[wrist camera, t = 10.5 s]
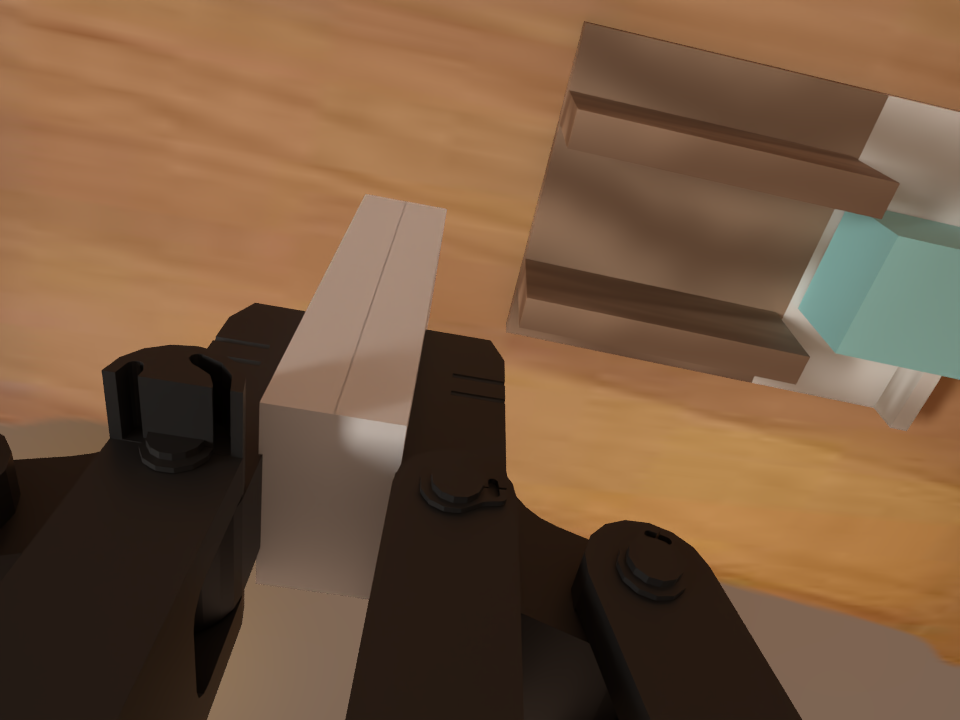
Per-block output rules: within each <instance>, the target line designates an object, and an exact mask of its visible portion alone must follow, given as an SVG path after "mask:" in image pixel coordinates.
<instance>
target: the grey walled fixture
mask: <svg viewBox="0 0 960 720" xmlns="http://www.w3.org/2000/svg"><path fill="white" fill-rule="evenodd" d="M886 210H887V211H892V212H896V213H901V214H905V215H909V216H914V217H918V218H923V219H927V220H931V221H936V222H940V223H945V224H949V225H953V226H958V227H960V111H956V110H952V109H948V108H944V107H939V106H935V105H931V104H927V103H923V102H919V101H914V100H910V99H906V98H902V97H898V96H893V95H889V94H885V93H881V92H877V91H873V90H868V89H864V88H860V87H856V86H852V85H848V84H843V83H839V82H835V81H831V80H827V79H823V78H818V77H814V76H810V75H806V74H802V73H798V72H793V71H789V70H785V69H781V68H777V67H772V66H768V65H764V64H760V63H756V62H752V61H747V60H743V59H739V58H735V57H731V56H727V55H722V54H718V53H714V52H710V51H706V50H702V49H697V48H693V47H689V46H685V45H681V44H677V43H672V42H668V41H664V40H660V39H656V38H651V37H647V36H643V35H639V34H635V33H631V32H626V31H622V30H618V29H614V28H610V27H606V26H601V25H597V24H593V23H589V22H585V21H584V24H583V28H582V32H581V36H580V40H579V43H578V47H577V51H576V55H575V59H574V63H573V67H572V71H571V74H570V78H569V82H568V86H567V90H566V94H565V98H564V102H563V106H562V109H561V113H560V117H559V121H558V125H557V129H556V133H555V137H554V140H553V144H552V148H551V152H550V156H549V160H548V164H547V168H546V172H545V175H544V179H543V183H542V187H541V191H540V195H539V199H538V203H537V206H536V210H535V214H534V218H533V222H532V226H531V230H530V234H529V238H528V241H527V245H526V249H525V253H524V257H523V261H522V265H521V269H520V272H519V276H518V280H517V284H516V288H515V292H514V296H513V300H512V303H511V307H510V311H509V315H508V319H507V323H506V332H508V333H513V334H518V335H523V336H527V337H532V338H537V339H542V340H547V341H552V342H557V343H561V344H566V345H571V346H576V347H581V348H586V349H591V350H595V351H600V352H605V353H610V354H615V355H620V356H625V357H629V358H634V359H639V360H644V361H649V362H654V363H659V364H663V365H668V366H673V367H678V368H683V369H688V370H693V371H697V372H702V373H707V374H712V375H717V376H722V377H726V378H731V379H736V380H741V381H746V382H751V383H756V384H760V385H765V386H770V387H775V388H780V389H785V390H790V391H794V392H799V393H804V394H809V395H814V396H819V397H824V398H828V399H833V400H838V401H843V402H848V403H853V404H858V405H862V406H867V407H872V408H874V409H875V410H876V411H877V412H878V414H879V415H880V416H881V417H882V418H883V420H884V421H885V422H886V423H887V424H888V426H889V427H890V428H894V429H899V430H904V431H907V430H908V429H909V427H910V425H911V424H912V422H913V421H914V419H915V418H916V416H917V414H918V413H919V411H920V410H921V408H922V407H923V405H924V403H925V402H926V400H927V399H928V397H929V396H930V394H931V392H932V391H933V389H934V388H935V386H936V385H937V383H938V381H939V380H940V378H941V377H942V376H940V375H935V374H931V373H926V372H921V371H916V370H912V369H907V368H902V367H898V366H893V365H888V364H883V363H879V362H874V361H869V360H864V359H860V358H855V357H850V356H845V355H841V354H836V353H835V352H834V351H833V350H832V349H831V347H830V346H829V345H828V344H827V343H826V342H825V340H824V339H823V338H822V337H821V336H820V334H819V333H818V332H817V331H816V330H815V328H814V327H813V326H812V325H811V324H810V322H809V321H808V320H807V319H806V318H805V316H804V315H803V314H802V313H801V312H800V310H799V309H798V307H799V305H800V303H801V301H802V299H803V297H804V295H805V293H806V291H807V289H808V287H809V285H810V282H811V280H812V278H813V276H814V274H815V272H816V270H817V268H818V266H819V264H820V262H821V260H822V258H823V256H824V254H825V252H826V250H827V248H828V246H829V244H830V241H831V239H832V237H833V235H834V233H835V231H836V229H837V227H838V225H839V223H840V221H841V219H842V217H843V215H844V213H845V211H846V212H851V213H855V214H860V215H864V216H869V217H873V218H877V219H882V218H883V216H884V214H885V212H886Z"/></svg>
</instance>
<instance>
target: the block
mask: <svg viewBox="0 0 960 720" xmlns="http://www.w3.org/2000/svg"><path fill="white" fill-rule="evenodd" d="M798 309H799V310H800V312H801V313H802V314H803V315H804V316H805V318H806V319H807V320H808V321H809V322H810V324H811V325H812V326H813V327H814V328H815V330H816V331H817V332H818V333H819V334H820V336H821V337H822V338H823V339H824V340H825V342H826V343H827V344H828V345H829V346H830V347H831V349H832V350H833V351H834V352H835V353H836V354H841V355H845V356H850V357H855V358H860V359H864V360H869V361H874V362H879V363H883V364H888V365H893V366H898V367H902V368H907V369H912V370H916V371H921V372H926V373H931V374H935V375H940V376H945V377H950V378H954V379H959V380H960V227H958V226H953V225H949V224H945V223H940V222H936V221H931V220H927V219H923V218H918V217H914V216H909V215H905V214H901V213H896V212H892V211H887V210H886V212H885V214H884V216H883V218H882V219H877V218H873V217H869V216H864V215H860V214H855V213H851V212H846V211H845V213H844V215H843V217H842V219H841V221H840V223H839V225H838V227H837V229H836V231H835V233H834V235H833V237H832V239H831V241H830V244H829V246H828V248H827V250H826V252H825V254H824V256H823V258H822V260H821V262H820V264H819V266H818V268H817V270H816V272H815V274H814V276H813V278H812V280H811V282H810V285H809V287H808V289H807V291H806V293H805V295H804V297H803V299H802V301H801V303H800V305H799V307H798Z"/></svg>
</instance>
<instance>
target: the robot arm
mask: <svg viewBox="0 0 960 720" xmlns="http://www.w3.org/2000/svg"><path fill="white" fill-rule="evenodd" d="M446 212H447V209H444V208H438V207H433V206H428V205H422V204H417V203H411V202H406V201H401V200H395V199H390V198H384V197H379V196H374V195H368V194H365V196H364V198H363V200H362V202H361V204H360V206H359V208H358V210H357V212H356V214H355V216H354V218H353V220H352V222H351V223H350V225H349V227H348V229H347V231H346V233H345V235H344V237H343V239H342V241H341V243H340V245H339V247H338V249H337V251H336V253H335V255H334V257H333V259H332V261H331V263H330V265H329V267H328V269H327V271H326V273H325V275H324V277H323V279H322V281H321V283H320V285H319V287H318V288H317V290H316V292H315V294H314V296H313V298H312V300H311V302H310V304H309V306H308V308H307V310H306V311H300V310H294V309H288V308H282V307H277V306H271V305H265V304H259V303H254V304H252V305H250V306H249V307H247V308H245V309H243V310H241V311H240V312H238V313H236V314H234V315H232V316H230V317H229V318H228V320H227V321H226V323H225V324H224V326H223V327H222V328H221V330H220V331H219V333H218V334H217V336H216V339H215V341H214V340H213V341H212V343H211V344H210V346H209V347H208V348H207V349H206V348H202V347H199V346H183V345H166V346H159V347H151V348H144V349H141V350H138V351H136V352H133V353H130V354H127V355H124V356H122V357H119V358H118V359H116V360H115V361H114V362H112V363H111V364H110V365H108V366H107V367H106V368H104V369H103V370H102V377H103V385H104V393H105V401H106V409H107V418H108V426H109V433H110V439H109V440H108V442H107V443H106V444H105V446H104V447H103V448H102V449H101V451H100V452H97V453H92V454H84V455H77V456H67V457H52V458H36V459H22V460H13V456H12V452H11V450H10V447H9V445H8V443H7V441H6V439H5V437H4V436H3V435H1V434H0V720H207V718H208V715H209V712H210V709H211V706H212V704H213V701H214V699H215V696H216V693H217V690H218V688H219V685H220V682H221V679H222V677H223V674H224V671H225V669H226V666H227V663H228V660H229V658H230V655H231V652H232V649H233V647H234V644H235V641H236V639H237V636H238V633H239V630H240V628H241V625H242V618H243V611H244V589H245V586H246V583H247V581H248V578H249V576H250V573H251V570H252V567H253V565H254V563H255V560H256V584H263V585H270V586H277V587H285V588H291V589H298V590H307V591H313V592H320V593H327V594H334V595H341V596H348V597H356V598H363V599H369V603H368V608H367V613H366V618H365V623H364V628H363V634H362V638H361V643H360V648H359V653H358V658H357V663H356V669H355V674H354V679H353V684H352V689H351V694H350V699H349V704H348V709H347V714H346V719H345V720H802V719H801V717H800V715H799V714H798V712H797V710H796V709H795V707H794V705H793V704H792V702H791V700H790V699H789V697H788V695H787V694H786V692H785V690H784V689H783V687H782V685H781V684H780V682H779V680H778V679H777V677H776V676H775V674H774V672H773V671H772V669H771V667H770V666H769V664H768V662H767V661H766V659H765V657H764V656H763V654H762V653H761V651H760V649H759V647H758V646H757V644H756V643H755V641H754V639H753V638H752V636H751V634H750V633H749V631H748V629H747V628H746V626H745V624H744V623H743V621H742V619H741V618H740V616H739V615H738V613H737V611H736V610H735V608H734V606H733V605H732V603H731V601H730V600H729V598H728V596H727V595H726V593H725V592H724V590H723V588H722V586H721V585H720V583H719V581H718V580H717V578H716V576H715V575H714V573H713V571H712V570H711V568H710V567H709V565H708V564H707V563H706V562H705V561H704V559H703V558H702V557H701V556H700V555H699V553H698V552H697V551H696V550H695V549H694V548H693V547H692V546H691V545H689V544H688V543H686V542H685V541H684V540H682V539H681V538H679V537H678V536H677V535H675V534H674V533H672V532H670V531H667V530H665V529H662V528H660V527H657V526H655V525H652V524H650V523H644V522H636V521H628V520H623V521H619V522H614V523H609V524H605V525H603V526H602V527H601V528H600V529H598V530H597V531H596V532H594V533H593V534H592V535H591V536H590V539H589V540H588V539H586V538H583V537H581V536H579V535H576V534H574V533H571V532H569V531H566V530H564V529H562V528H559V527H557V526H555V525H553V524H551V523H549V522H547V521H545V520H543V519H541V518H540V517H538V516H537V515H536V514H534V513H533V512H532V511H530V510H529V509H528V508H526V507H525V506H524V505H523V503H522V502H521V501H520V500H519V499H518V498H517V497H516V494H515V491H514V487H513V484H512V482H511V481H510V480H509V479H508V477H507V473H506V433H505V404H504V402H505V386H504V383H505V368H504V360H503V358H502V357H501V355H500V354H499V352H498V351H497V349H496V348H495V346H494V345H493V343H492V342H491V341H490V340H484V339H478V338H473V337H467V336H461V335H455V334H449V333H443V332H437V331H432V330H427V327H428V321H429V315H430V309H431V303H432V297H433V291H434V285H435V279H436V273H437V267H438V260H439V254H440V248H441V242H442V236H443V230H444V224H445V218H446Z"/></svg>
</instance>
